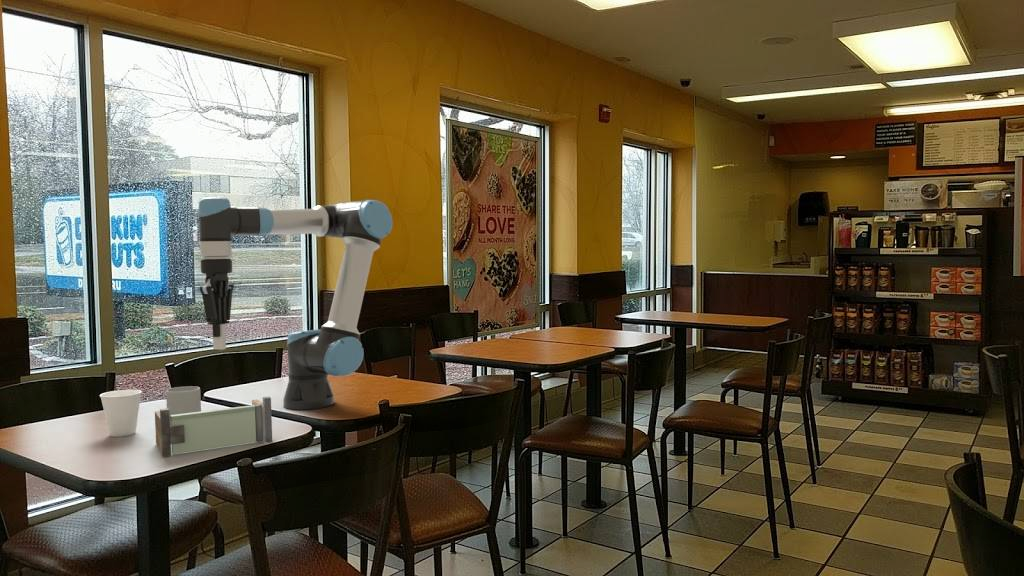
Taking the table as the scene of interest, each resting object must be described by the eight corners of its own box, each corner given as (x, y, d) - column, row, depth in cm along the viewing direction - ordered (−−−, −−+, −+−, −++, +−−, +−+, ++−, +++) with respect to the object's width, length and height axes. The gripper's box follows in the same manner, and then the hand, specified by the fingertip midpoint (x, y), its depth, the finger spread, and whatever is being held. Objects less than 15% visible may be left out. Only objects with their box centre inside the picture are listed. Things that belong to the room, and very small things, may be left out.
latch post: (175, 441, 189) (173, 398, 189) (185, 455, 177) (183, 408, 176) (155, 444, 187) (153, 400, 186) (163, 458, 174) (161, 411, 174)
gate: (262, 439, 189) (261, 404, 188) (264, 441, 187) (262, 405, 187) (171, 452, 178) (170, 415, 177) (173, 454, 176) (171, 416, 176)
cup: (101, 432, 200) (99, 391, 200) (143, 428, 205) (141, 388, 204) (100, 441, 192) (98, 398, 191) (144, 436, 196) (142, 394, 196)
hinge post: (258, 430, 200) (257, 389, 200) (272, 441, 188) (270, 397, 188) (252, 431, 199) (251, 390, 199) (265, 442, 188) (264, 398, 187)
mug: (201, 431, 200) (199, 390, 200) (166, 434, 197) (164, 393, 197) (203, 421, 212) (201, 383, 211) (170, 424, 209) (168, 385, 208)
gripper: (216, 258, 201) (219, 345, 202) (188, 258, 188) (192, 352, 189) (242, 257, 200) (245, 345, 201) (216, 258, 187) (220, 352, 188)
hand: (219, 349), depth 195 cm, fingers closed
